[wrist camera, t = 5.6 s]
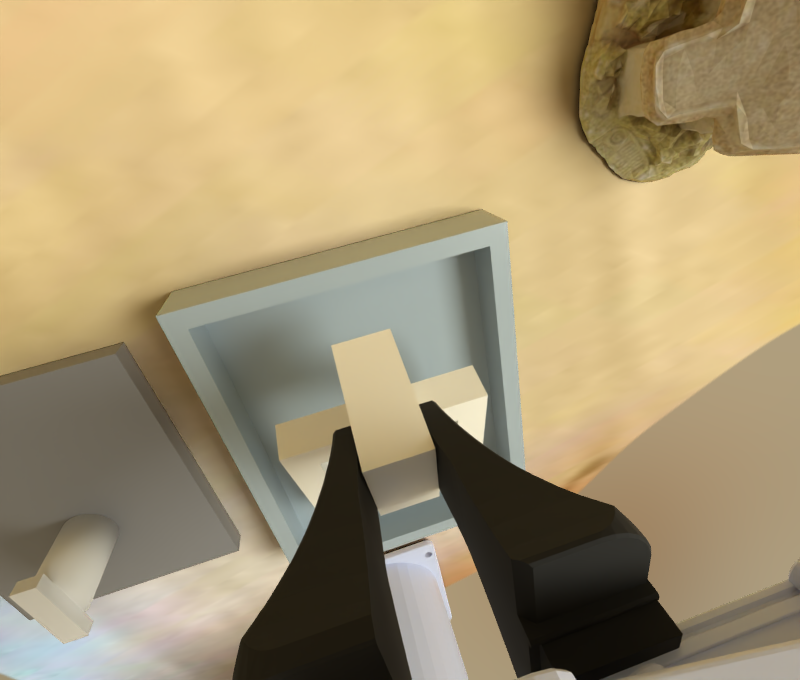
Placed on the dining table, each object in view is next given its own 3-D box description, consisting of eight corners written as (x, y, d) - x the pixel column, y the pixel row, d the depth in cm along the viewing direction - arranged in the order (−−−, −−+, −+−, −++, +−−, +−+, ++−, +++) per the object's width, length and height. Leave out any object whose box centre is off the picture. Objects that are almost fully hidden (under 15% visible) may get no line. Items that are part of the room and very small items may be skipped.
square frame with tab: (468, 452, 23) (504, 536, 20) (324, 498, 22) (341, 593, 20) (475, 303, 14) (540, 414, 12) (239, 372, 14) (246, 509, 11)
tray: (508, 471, 27) (527, 501, 25) (298, 542, 26) (299, 580, 24) (482, 209, 19) (507, 221, 17) (171, 292, 18) (155, 316, 15)
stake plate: (240, 535, 24) (230, 627, 20) (39, 601, 23) (-19, 714, 19) (123, 342, 18) (70, 415, 14) (-162, 420, 17) (-320, 528, 13)
